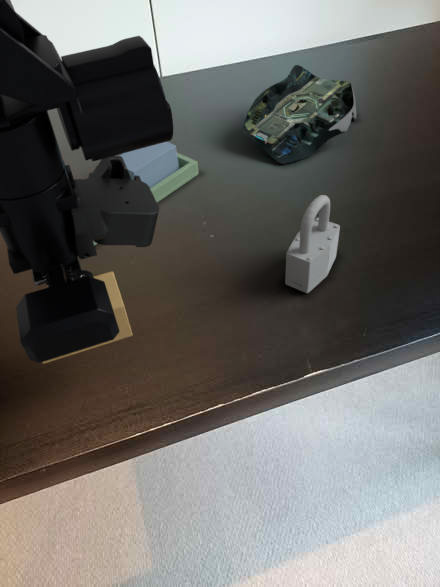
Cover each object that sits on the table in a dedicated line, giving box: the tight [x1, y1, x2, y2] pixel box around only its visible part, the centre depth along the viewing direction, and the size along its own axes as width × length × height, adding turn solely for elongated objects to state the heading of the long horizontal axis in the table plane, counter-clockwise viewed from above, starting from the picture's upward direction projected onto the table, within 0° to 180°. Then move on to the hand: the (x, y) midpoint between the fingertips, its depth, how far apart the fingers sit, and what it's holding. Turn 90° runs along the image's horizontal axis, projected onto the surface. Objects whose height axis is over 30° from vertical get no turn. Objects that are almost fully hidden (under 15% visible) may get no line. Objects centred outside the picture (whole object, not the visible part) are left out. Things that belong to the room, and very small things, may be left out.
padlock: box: [284, 194, 341, 294], centre depth 57 cm, size 7×4×10 cm, turn 145°
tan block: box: [41, 271, 134, 365], centre depth 46 cm, size 8×5×4 cm, turn 110°
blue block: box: [119, 141, 179, 188], centre depth 74 cm, size 8×5×4 cm, turn 139°
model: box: [242, 64, 357, 165], centre depth 79 cm, size 20×9×14 cm
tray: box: [93, 152, 199, 246], centre depth 72 cm, size 21×9×2 cm, turn 139°
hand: (80, 324), depth 47 cm, fingers closed on tan block, 4 cm apart
